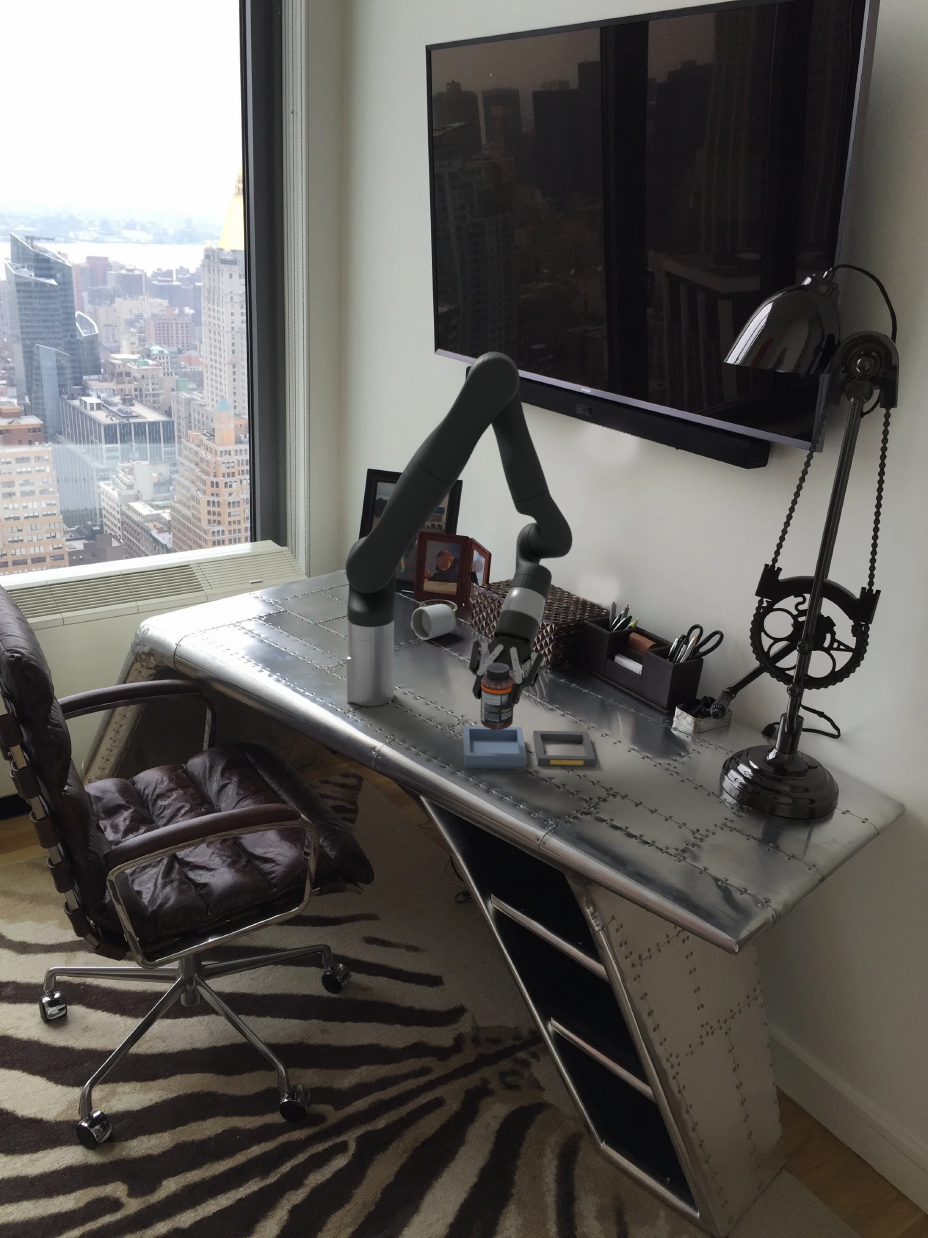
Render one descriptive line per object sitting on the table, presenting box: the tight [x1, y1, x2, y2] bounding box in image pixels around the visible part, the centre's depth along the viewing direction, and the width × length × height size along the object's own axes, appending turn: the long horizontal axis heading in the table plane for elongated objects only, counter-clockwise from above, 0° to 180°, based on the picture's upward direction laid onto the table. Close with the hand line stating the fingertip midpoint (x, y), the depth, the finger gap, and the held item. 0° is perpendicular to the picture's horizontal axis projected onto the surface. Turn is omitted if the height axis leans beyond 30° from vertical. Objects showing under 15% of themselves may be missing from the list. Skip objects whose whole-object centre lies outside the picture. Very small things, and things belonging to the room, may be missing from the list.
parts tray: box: [462, 725, 527, 770], centre depth 182 cm, size 11×11×2 cm
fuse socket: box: [532, 730, 597, 768], centre depth 184 cm, size 10×10×2 cm
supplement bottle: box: [479, 663, 515, 730], centre depth 178 cm, size 6×6×11 cm
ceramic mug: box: [410, 603, 457, 641], centre depth 233 cm, size 11×8×8 cm
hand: (493, 701), depth 177 cm, fingers closed on supplement bottle, 6 cm apart
